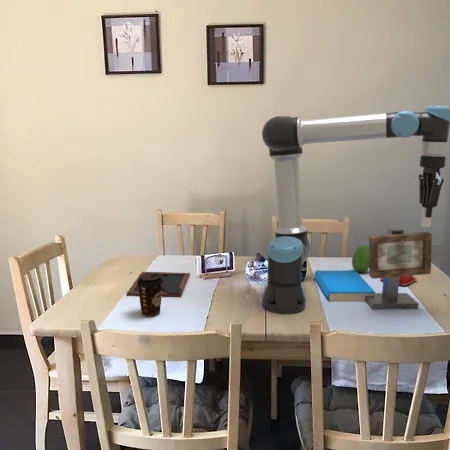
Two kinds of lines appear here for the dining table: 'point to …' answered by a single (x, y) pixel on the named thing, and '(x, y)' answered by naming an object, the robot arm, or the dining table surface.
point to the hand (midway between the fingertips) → (425, 226)
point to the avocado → (361, 259)
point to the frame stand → (391, 291)
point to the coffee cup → (150, 294)
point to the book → (343, 285)
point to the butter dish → (405, 279)
